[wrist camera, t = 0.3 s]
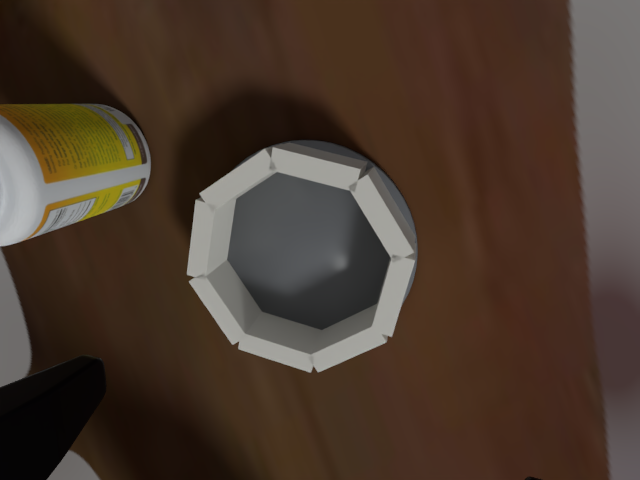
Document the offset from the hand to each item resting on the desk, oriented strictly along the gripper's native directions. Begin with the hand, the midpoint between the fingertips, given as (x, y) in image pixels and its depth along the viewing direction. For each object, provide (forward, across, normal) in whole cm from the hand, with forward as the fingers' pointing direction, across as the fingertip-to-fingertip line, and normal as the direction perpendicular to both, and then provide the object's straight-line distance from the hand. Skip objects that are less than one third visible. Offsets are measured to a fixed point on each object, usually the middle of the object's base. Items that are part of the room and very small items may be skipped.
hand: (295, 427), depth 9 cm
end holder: (+14, +3, +3) cm, 15 cm away
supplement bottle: (+14, +15, 0) cm, 21 cm away
